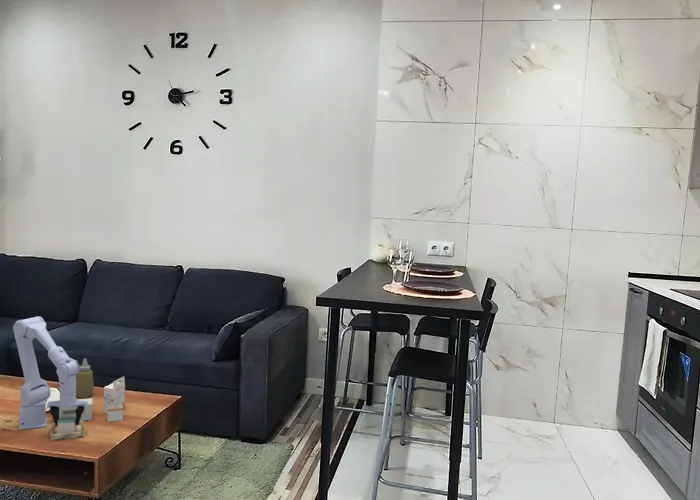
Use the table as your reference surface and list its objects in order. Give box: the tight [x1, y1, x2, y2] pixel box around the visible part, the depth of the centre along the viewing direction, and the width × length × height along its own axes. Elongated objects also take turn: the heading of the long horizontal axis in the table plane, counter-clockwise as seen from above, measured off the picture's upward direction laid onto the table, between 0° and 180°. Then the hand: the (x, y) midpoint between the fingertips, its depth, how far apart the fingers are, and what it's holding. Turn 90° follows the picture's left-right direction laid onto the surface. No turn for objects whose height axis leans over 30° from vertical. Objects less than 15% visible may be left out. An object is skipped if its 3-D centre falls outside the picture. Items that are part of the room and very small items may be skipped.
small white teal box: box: [58, 416, 77, 434], centre depth 224 cm, size 6×4×6 cm
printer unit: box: [59, 397, 93, 422], centre depth 237 cm, size 14×8×7 cm, turn 115°
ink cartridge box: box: [103, 376, 126, 414], centre depth 248 cm, size 9×5×15 cm, turn 168°
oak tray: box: [49, 421, 85, 442], centre depth 224 cm, size 12×12×2 cm
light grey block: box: [106, 404, 124, 423], centre depth 239 cm, size 6×4×6 cm
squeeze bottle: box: [76, 358, 95, 399], centre depth 262 cm, size 8×8×18 cm
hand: (67, 424), depth 224 cm, fingers open, 7 cm apart
